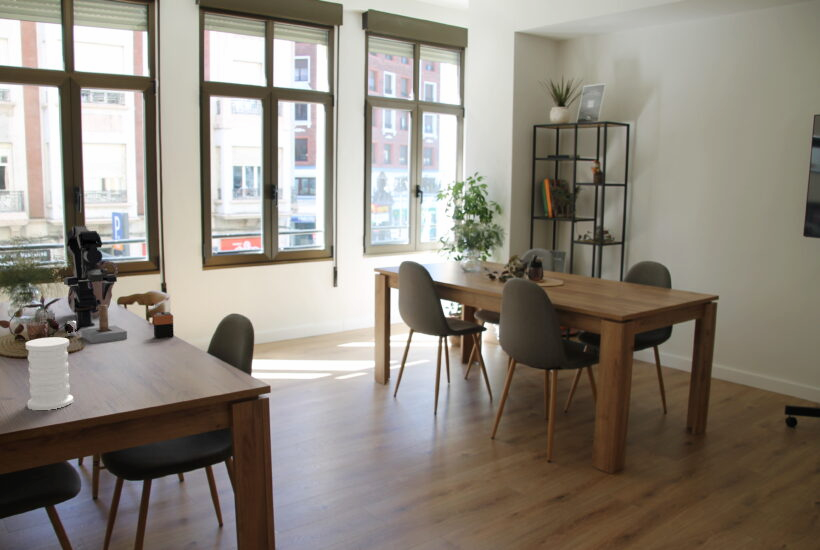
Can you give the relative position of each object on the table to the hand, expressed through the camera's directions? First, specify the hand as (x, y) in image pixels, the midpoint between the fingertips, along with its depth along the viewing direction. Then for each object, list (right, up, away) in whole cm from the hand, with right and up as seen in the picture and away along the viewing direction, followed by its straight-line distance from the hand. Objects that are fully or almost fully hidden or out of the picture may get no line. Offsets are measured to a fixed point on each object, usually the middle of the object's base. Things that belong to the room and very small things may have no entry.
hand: (91, 301), depth 283 cm
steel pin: (-6, -14, -4) cm, 16 cm away
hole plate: (+7, -14, -5) cm, 17 cm away
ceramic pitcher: (-15, -8, +37) cm, 41 cm away
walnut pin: (+7, -14, -5) cm, 17 cm away
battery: (+30, -14, -2) cm, 33 cm away
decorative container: (+26, -26, -84) cm, 92 cm away
